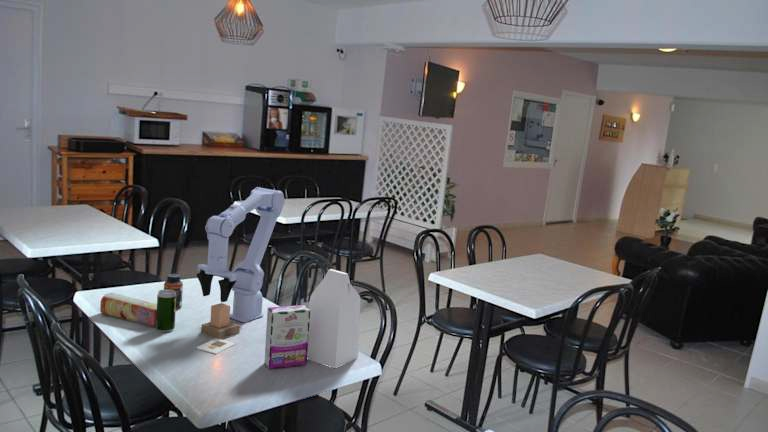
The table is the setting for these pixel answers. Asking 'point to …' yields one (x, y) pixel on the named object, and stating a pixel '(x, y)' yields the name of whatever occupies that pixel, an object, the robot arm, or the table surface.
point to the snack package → (129, 308)
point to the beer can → (166, 310)
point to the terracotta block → (220, 315)
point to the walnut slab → (220, 330)
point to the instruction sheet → (216, 346)
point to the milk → (334, 321)
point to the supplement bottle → (175, 288)
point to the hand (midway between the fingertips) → (215, 298)
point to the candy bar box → (287, 336)
